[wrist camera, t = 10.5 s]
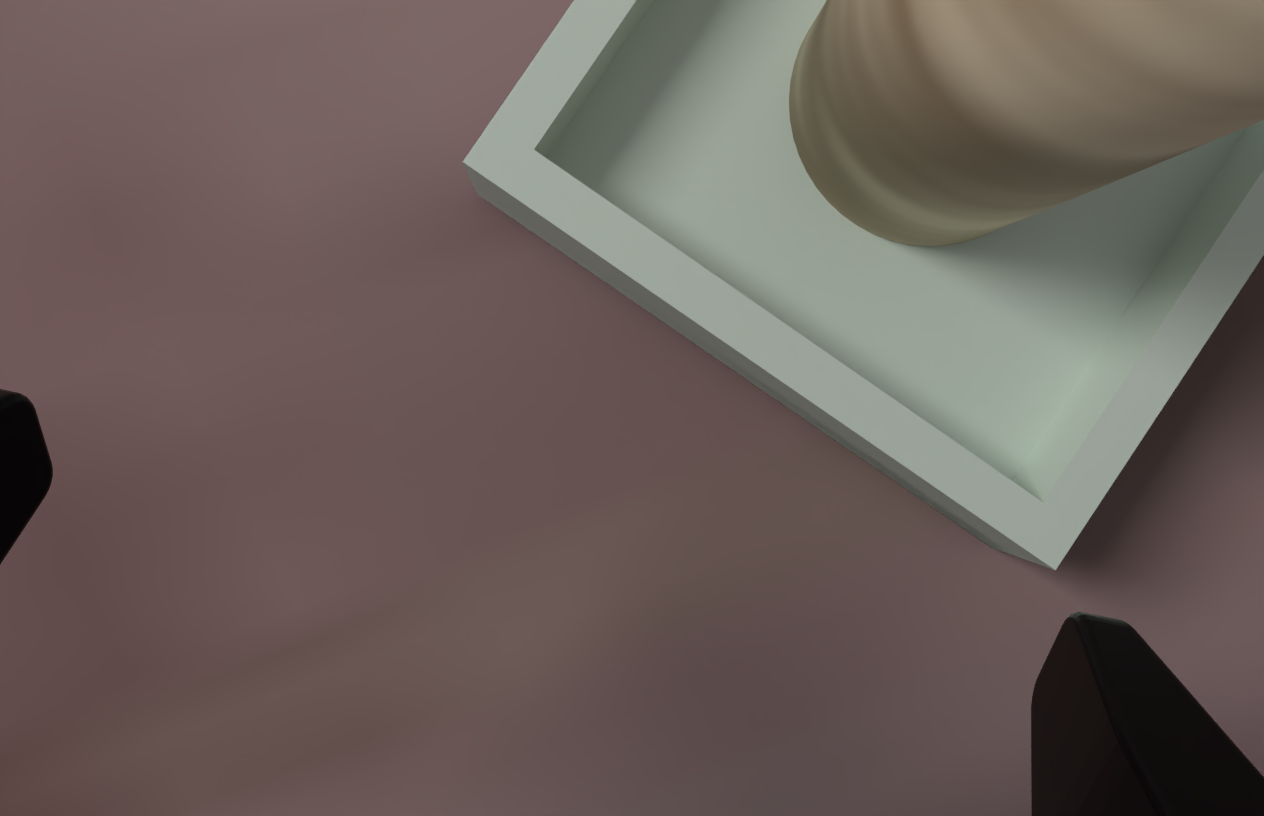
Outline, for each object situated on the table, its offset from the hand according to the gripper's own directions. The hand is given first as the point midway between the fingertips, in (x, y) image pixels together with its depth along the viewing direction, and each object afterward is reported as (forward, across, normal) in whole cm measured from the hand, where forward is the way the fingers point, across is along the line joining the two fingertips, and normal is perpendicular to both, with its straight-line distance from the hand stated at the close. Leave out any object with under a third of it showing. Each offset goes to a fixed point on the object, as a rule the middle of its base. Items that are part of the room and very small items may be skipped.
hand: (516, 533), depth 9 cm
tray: (+13, -4, 0) cm, 14 cm away
